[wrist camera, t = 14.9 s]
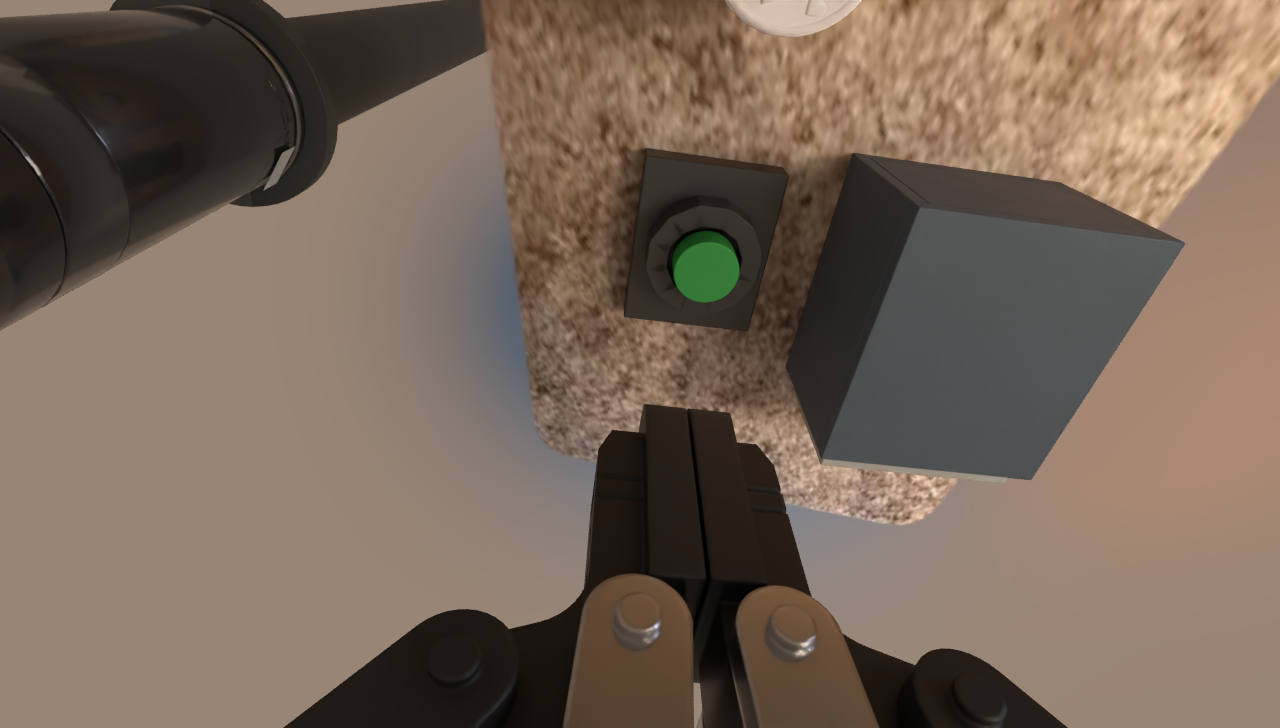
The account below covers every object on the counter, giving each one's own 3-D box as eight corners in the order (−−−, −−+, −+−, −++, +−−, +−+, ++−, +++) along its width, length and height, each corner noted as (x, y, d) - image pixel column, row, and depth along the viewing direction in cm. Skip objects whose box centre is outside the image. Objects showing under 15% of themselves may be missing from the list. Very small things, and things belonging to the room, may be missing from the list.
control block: (744, 319, 40) (752, 346, 37) (624, 305, 39) (623, 331, 37) (783, 167, 35) (797, 184, 32) (645, 148, 34) (646, 163, 31)
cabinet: (957, 386, 43) (1031, 480, 35) (785, 366, 42) (821, 459, 34) (1060, 182, 35) (1186, 243, 27) (852, 152, 34) (919, 206, 26)
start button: (727, 292, 36) (731, 306, 34) (667, 285, 35) (668, 298, 34) (741, 234, 34) (746, 246, 32) (677, 226, 33) (679, 238, 32)
